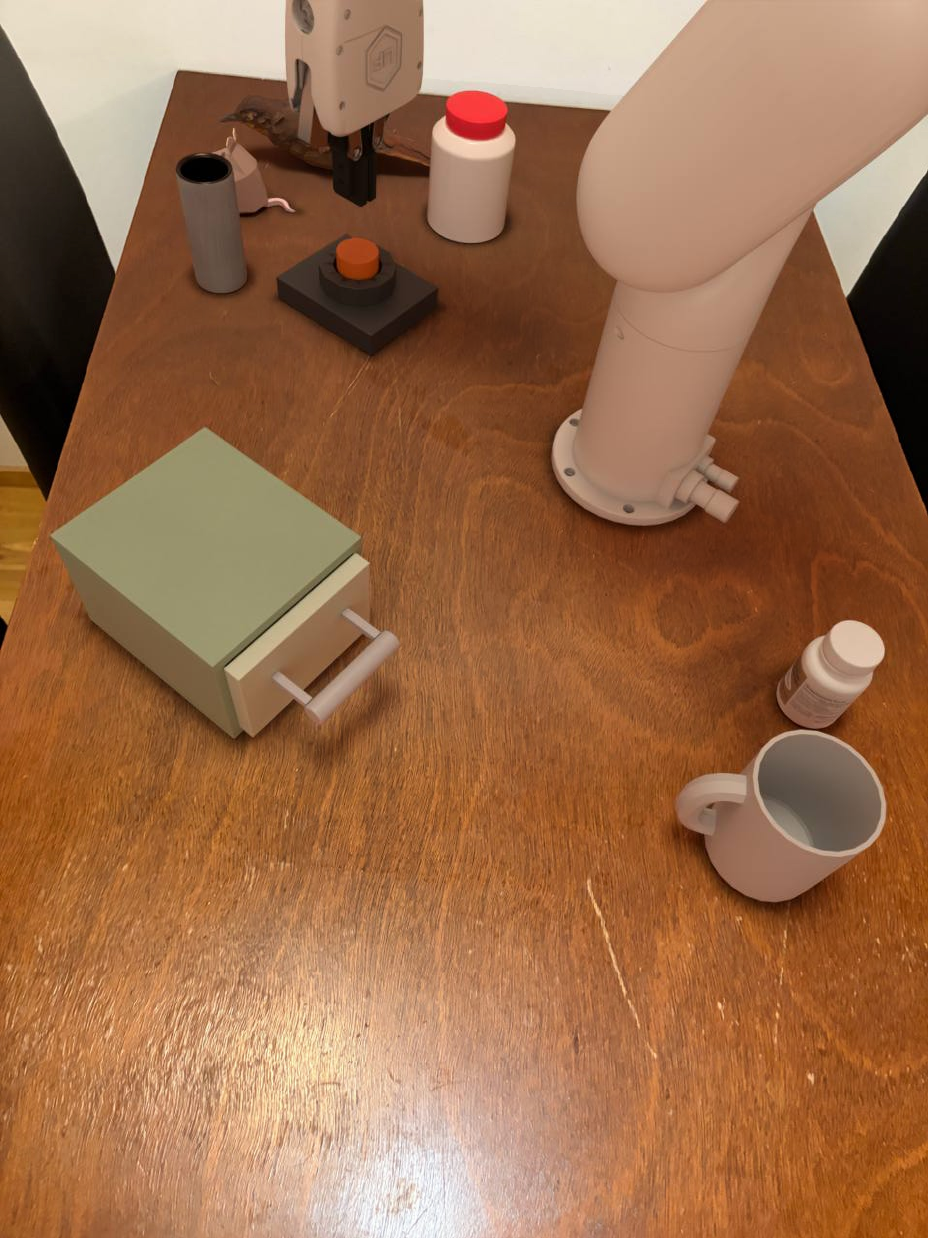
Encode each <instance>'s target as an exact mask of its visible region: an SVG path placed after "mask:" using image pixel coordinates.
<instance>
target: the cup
mask: <svg viewBox="0 0 928 1238" xmlns="http://www.w3.org/2000/svg"><path fill="white" fill-rule="evenodd" d="M712 804H713V805H712ZM710 805H712V807H711V808H708V806H710ZM674 810H675V813H676V815H677V817H678V820H679V822H680V824H681V825H683V826H684V827H685V828H687V829H689V830H691V831H693V832H695V833H698V834H702V835H704V836H703V837H704V844H705V849H706V852H707V854H708V857H709V861H710V862H711V864H712V865H713V867H714V868H715V870H716V872H717V873H718V874H719V876H720V877H721V878H722V879H723V880H724V881H725V882H726V883H727V884H728V885H729V886H730V887H731V888H733V889H734V890H736V891H738V892H739V893H741V894H742V895H744V896H746V897H747V898H748V897H749V898H752V899H754V900H757V901H759V902H770V903H779V902H784V901H785V902H786V901H789V900H792V899H795V898H796V897H798V896H799V895H802V894H803V893H805V892H807V891H809V890H810V889H811V888H813V887H814V886H816V885H817V884H819V883H820V882H821V881H823V880H824V879H826V878H827V877H828V876H830V875H831V874H833V873H834V872H835V871H837V870H838V869H840V868H841V867H842V866H844V865H845V864H847V863H848V862H850V861H851V860H852V859H854V858H855V857H857V856H858V855H859V854H861V853H862V852H864V851H865V850H867V849H868V848H870V847H871V846H872V845H873V843H874V842H875V841H876V840H877V839H878V838H879V836H880V835H881V833H882V831H883V828H884V826H885V823H886V818H887V816H886V815H887V801H886V797H885V792H884V788H883V785H882V784H881V780H880V779H879V777H878V775H877V773H876V771H875V770H874V769H873V767H872V766H871V765H870V764H869V762H868V761H867V760H866V759H865V757H863V755H861V754H860V752H858V751H857V750H856V749H855V748H853V747H852V746H851V745H850V744H849V743H846V742H845V741H842V740H841V739H839V738H837V737H836V736H834V735H832V734H831V735H830V734H828V733H824V732H821V731H819V730H810V729H796V730H790V731H785V732H783V733H781V734H778V735H776V736H774V737H772V738H771V739H770V740H769V741H768V742H767V743H766V744H764V745H763V747H762V748H761V749H760V750H759V751H758V752H757V753H756V754H755V755H754V757H752V759H751V760H750V761H749V762H748V763H747V764H746V766H745V767H744V768H743V769H742V770H741V772H740V773H739V774H738V773H729V772H728V773H727V772H717V773H708V774H703V775H701V776H699V777H695V778H693V779H692V780H690V781H689V782H687V783H686V784H685V785H684V786H683V788H682V789H681V790H680V791H679V794H678V795H677V797H676V799H675V803H674Z"/></svg>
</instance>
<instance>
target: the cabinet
mask: <svg viewBox="0 0 928 1238" xmlns="http://www.w3.org/2000/svg"><path fill="white" fill-rule="evenodd" d="M49 537H50V539H51V541H52V543H53V545H54V547H55V550H56V551H57V553H58V555H59V557H60V559H61V561H62V564H63V565H64V567H65V569H66V571H67V574H68V576H69V579H70V580H71V582H72V584H73V586H74V588H75V590H76V592H77V594H78V597H79V598H80V600H81V602H82V605H83V606H84V609H85V611H86V613H87V615H88V618H89V620H90V621H91V622H93V623H94V624H95V625H96V626H98V627H99V628H100V629H101V630H103V632H104V633H106V634H107V635H108V636H109V637H110V638H112V639H113V640H114V641H116V643H118V644H119V645H120V646H121V647H122V648H124V649H125V650H126V651H127V652H128V653H130V654H131V655H132V656H133V657H134V658H135V659H137V660H138V661H139V662H140V663H142V664H143V665H144V666H145V667H146V668H148V669H149V670H150V671H151V672H152V673H154V674H155V676H157V677H159V679H161V680H162V681H163V682H164V683H166V684H167V685H168V686H169V687H171V688H172V689H173V690H174V691H175V692H176V693H178V694H179V695H180V696H181V697H183V698H184V699H185V700H186V701H187V702H188V703H190V704H191V705H192V706H193V707H195V708H196V709H197V710H198V711H200V713H202V714H203V715H204V716H205V717H206V718H207V719H209V720H210V721H211V722H213V723H214V724H215V725H216V726H217V727H218V728H220V729H221V730H222V731H223V732H225V733H226V734H227V735H228V736H229V737H230V738H232V739H233V740H234V739H236V738H237V737H238V736H240V734H241V733H243V732H244V730H243V729H242V728H241V727H240V725H239V722H238V718H237V715H236V711H235V707H234V704H233V700H232V697H231V693H230V689H229V686H228V682H227V679H226V675H225V671H224V668H225V665H226V664H227V663H228V662H229V661H230V660H231V659H232V658H234V657H235V656H236V655H237V654H238V653H239V652H240V651H242V650H243V649H244V648H245V647H246V646H247V645H248V644H250V643H251V642H252V641H253V640H254V639H255V638H256V637H258V636H259V635H260V634H261V633H262V632H263V631H264V630H265V629H267V628H268V627H269V626H270V625H271V624H272V623H273V622H275V621H276V620H277V619H278V618H279V617H280V616H281V615H283V614H284V613H285V612H286V611H287V610H288V609H289V608H291V607H292V606H293V605H294V604H295V603H296V602H297V601H298V600H300V599H301V598H302V597H303V596H304V595H305V594H306V593H308V592H309V591H310V590H311V589H312V588H313V587H314V586H316V585H317V584H318V583H319V582H320V581H321V580H322V579H324V578H325V577H326V576H327V575H328V574H329V573H330V572H331V571H333V572H334V571H335V570H336V569H337V568H339V567H340V566H341V565H342V564H343V563H344V562H345V561H347V560H348V559H349V558H350V557H351V556H352V555H353V554H354V553H357V554H358V555H360V556H361V557H362V558H363V555H362V543H363V541H362V540H363V539H362V536H360V535H359V534H358V533H356V532H355V531H354V530H352V529H351V528H349V527H348V526H347V525H345V524H343V522H341V521H339V520H338V519H337V518H335V517H334V516H332V515H331V514H330V513H328V512H327V511H326V510H324V509H322V508H321V507H320V506H318V505H316V503H314V502H312V501H311V500H309V499H308V498H307V497H305V496H304V495H302V494H301V493H300V492H298V491H297V490H296V489H294V488H292V487H291V486H290V485H288V484H287V483H286V482H284V481H283V480H281V479H279V477H277V476H276V475H274V474H273V473H271V472H270V471H269V470H267V469H266V468H264V467H263V466H262V465H260V464H258V463H257V462H256V461H254V460H253V459H251V458H250V457H249V456H248V455H246V454H244V453H243V452H242V451H240V450H238V449H237V448H236V447H234V446H233V445H232V444H230V443H229V442H227V441H226V440H224V439H223V438H222V437H220V436H219V435H218V434H216V433H214V432H213V431H212V430H210V429H209V428H208V427H206V426H203V427H202V428H201V429H199V430H198V431H196V432H194V434H192V435H191V436H190V437H188V438H187V439H185V440H183V442H181V443H180V444H178V445H177V446H175V447H174V448H172V449H171V450H169V451H168V452H166V453H165V454H163V455H162V456H160V457H159V458H158V459H157V460H155V461H153V462H152V463H151V464H149V465H148V466H147V467H145V468H144V469H142V470H141V471H139V472H138V473H136V474H135V475H133V476H131V478H129V479H128V480H126V481H125V482H123V483H122V484H121V485H119V486H118V487H117V488H116V487H115V489H114V490H112V491H111V492H109V493H108V494H106V495H105V496H104V497H102V498H100V499H99V500H98V501H97V502H95V503H93V504H92V505H90V506H89V507H87V508H86V509H84V510H83V511H82V512H81V513H80V514H78V515H76V516H74V517H73V518H72V519H70V520H69V521H68V522H66V523H65V524H63V525H62V526H60V527H58V528H57V529H56V530H54V531H53V532H52V533H51V534H49Z"/></svg>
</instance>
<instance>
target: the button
mask: <svg viewBox="0 0 928 1238" xmlns="http://www.w3.org/2000/svg"><path fill="white" fill-rule="evenodd" d="M375 244H376V243H375V242H373V241H371V240H369V239H366V238H362V237H353V238H350V239H346V240H344V241H342V242H341V243H340V244H339V245H338V246H337V249H336V259H337V270H338V272H339V273H340V274H341V275H342V276H344V277H346V278H349V279H355V280H363V279H369V278H373V277H374V276H375V275H376V274H377V273H378V270H379V250H378V248H377V246H376V245H377V244H376V245H375Z"/></svg>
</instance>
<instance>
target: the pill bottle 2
mask: <svg viewBox="0 0 928 1238" xmlns="http://www.w3.org/2000/svg"><path fill="white" fill-rule="evenodd" d="M885 652H886V651H885V645H884V641H883V639H882V637H881V636H880V634H878V632H877V631H876V630H875V629H874V628H873V627H871V626H870V625H868V624H867V623H863V622H861V621H858V620H852V619H850V620H849V619H847V620H846V619H845V620H842V621H839V622H838V623H836V624H834V626H832V627H831V628H830V630H829V631H828V632H827V634H824V635H821V636H818V637H816V638H815V639H813V640H812V641H810V642H809V644H808V645H807V646H806V647H805V648H804V650H802V652H801V654H800V655H799V656H798V657H797V659H795V661H794V662H793V664H792V665H791V666H790V668H789V669H788V670H787V671H786V673H785V674H784V675H783V676H782V677H781V679H780V681H779V682H778V684H777V687H776V699H777V704H778V705H779V708H780V709H781V712H783V714H784V715H785V716H786V717H787V718H788V719H789V720H790V721H792V722H793V723H795V724H797V725H798V726H800V727H804V728H808V729H824V728H827V727H829V726H830V725H832V724H834V723H835V722H836V721H837V719H838V718H840V717H841V715H843V714H844V712H846V711H847V710H848V708H849V707H850V706H851V705H852V704H853V703H854V702H855V701H856V700H857V699H859V697H860V696H861V695H862V694H863V693H864V692H865V691H866V689H867V688H869V686H870V685H871V682H872V679H873V676H874V671H875V669H876V668H877V667H878V666H879V665H880V663H881V662H882V661H883V659H884V657H885V654H886V653H885Z"/></svg>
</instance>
